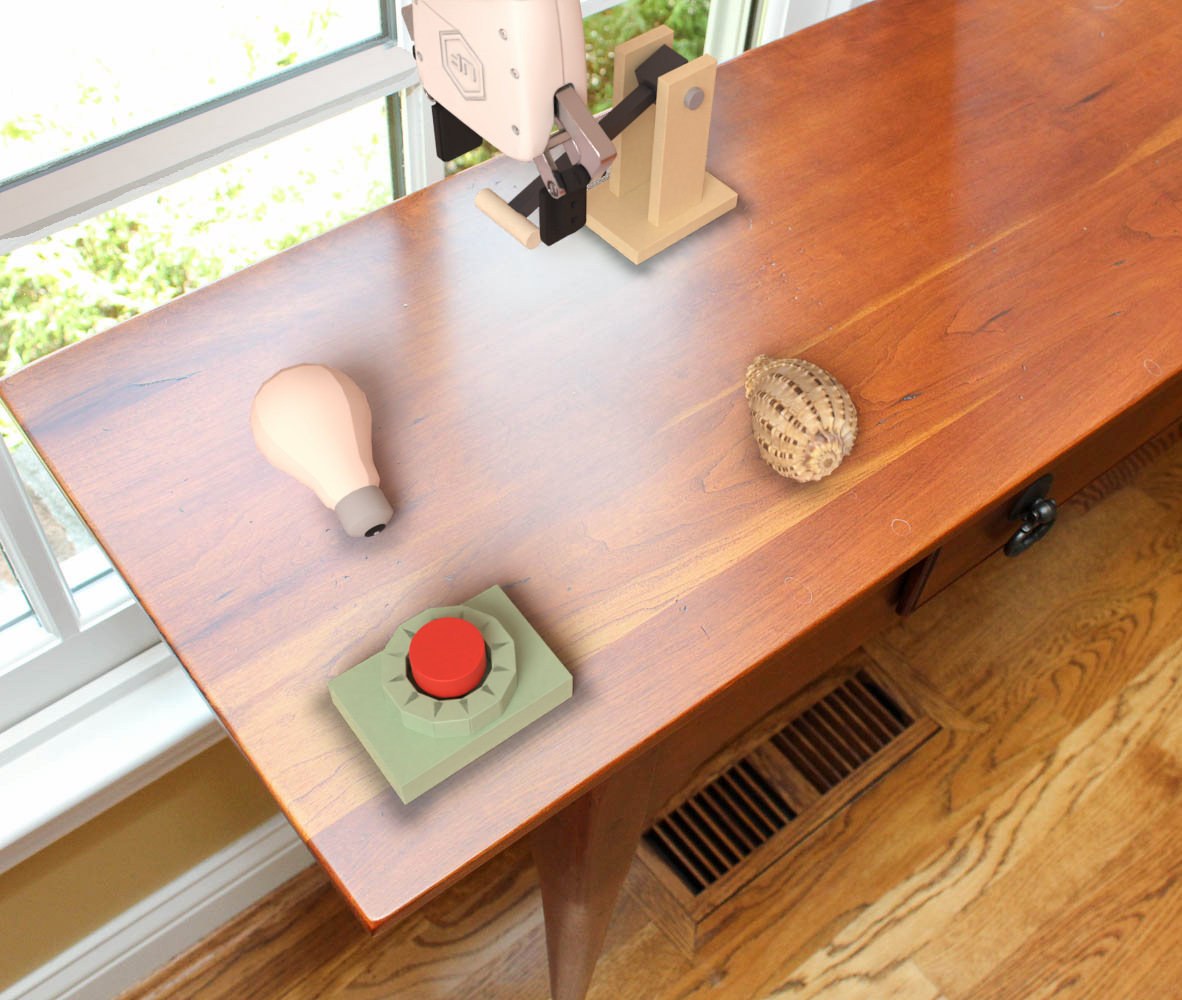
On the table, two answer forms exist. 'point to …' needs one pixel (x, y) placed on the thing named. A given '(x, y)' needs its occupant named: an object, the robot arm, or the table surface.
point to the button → (447, 657)
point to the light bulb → (323, 441)
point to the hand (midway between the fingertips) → (510, 192)
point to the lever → (612, 124)
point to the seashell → (799, 417)
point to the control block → (458, 724)
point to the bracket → (659, 157)
